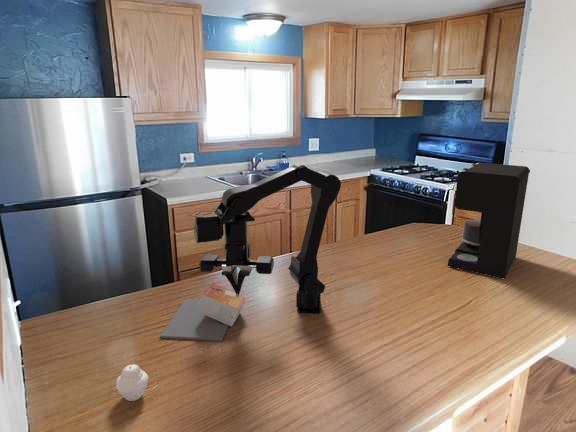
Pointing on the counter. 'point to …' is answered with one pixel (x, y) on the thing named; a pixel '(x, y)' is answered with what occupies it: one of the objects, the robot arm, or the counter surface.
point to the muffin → (132, 382)
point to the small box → (221, 304)
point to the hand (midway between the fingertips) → (238, 293)
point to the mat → (194, 324)
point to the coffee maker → (490, 217)
